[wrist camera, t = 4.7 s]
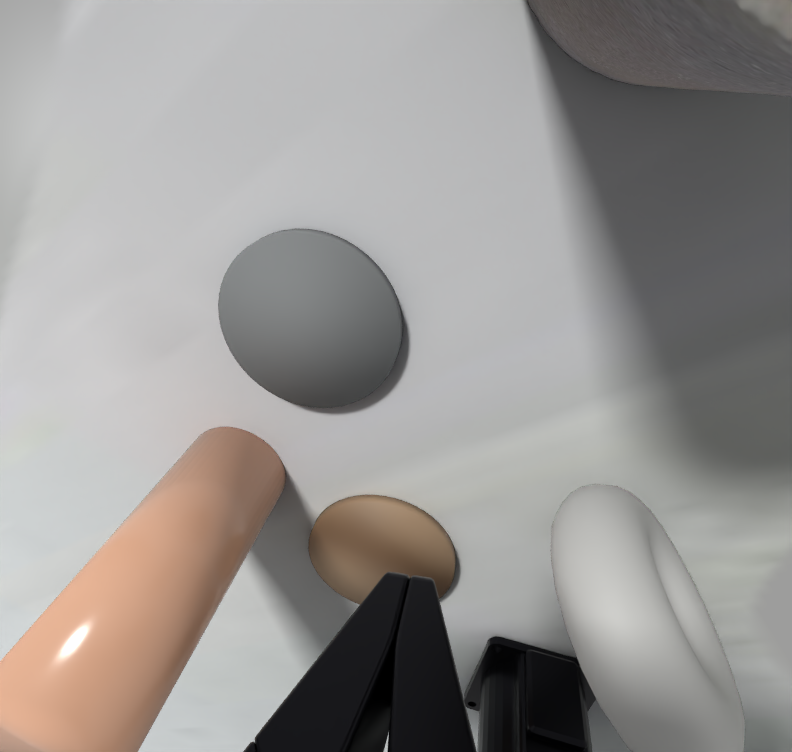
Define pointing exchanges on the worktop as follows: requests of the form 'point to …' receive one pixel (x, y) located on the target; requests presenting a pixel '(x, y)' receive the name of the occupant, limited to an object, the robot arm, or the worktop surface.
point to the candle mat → (310, 318)
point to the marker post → (139, 604)
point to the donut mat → (378, 545)
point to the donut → (641, 627)
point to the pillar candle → (678, 41)
